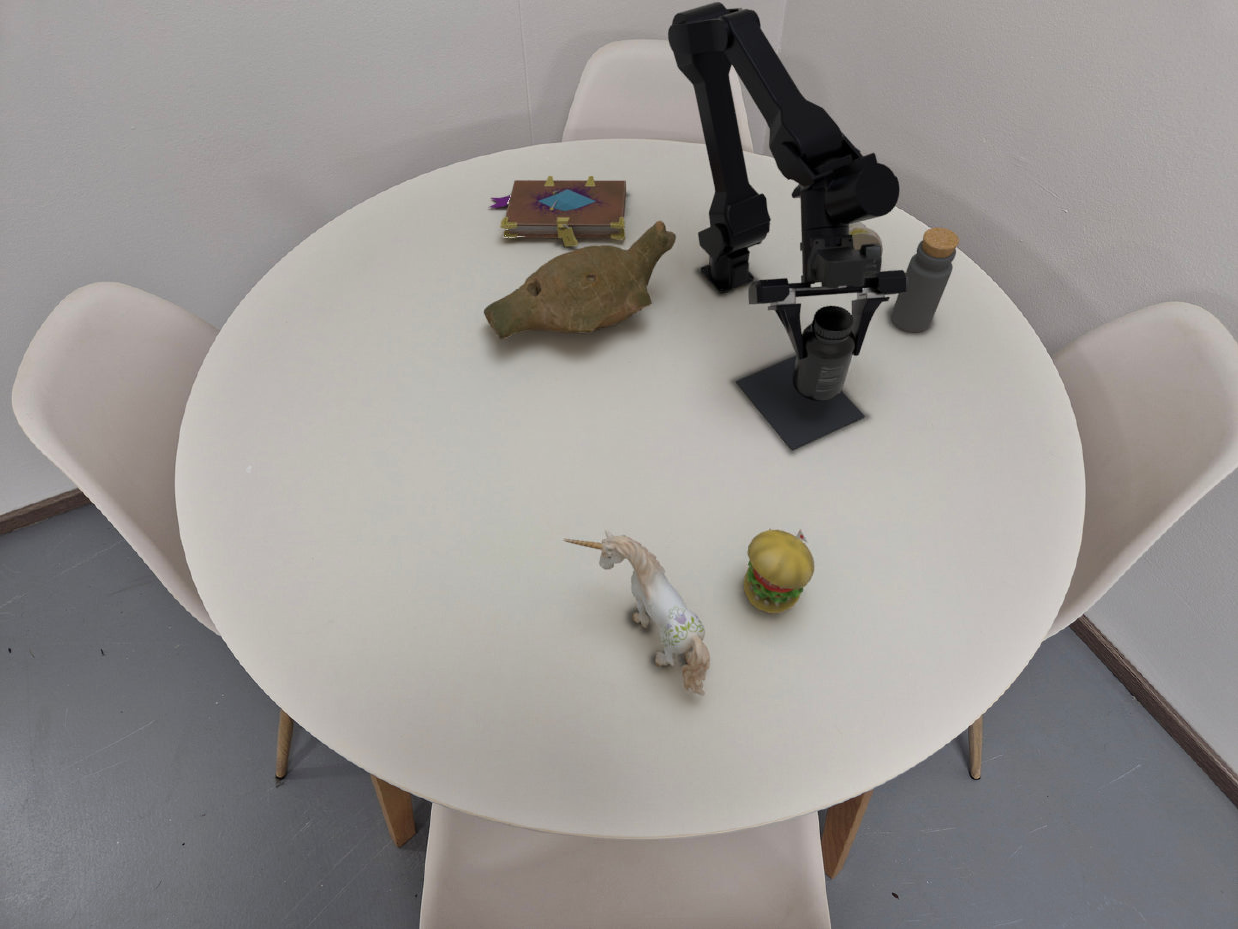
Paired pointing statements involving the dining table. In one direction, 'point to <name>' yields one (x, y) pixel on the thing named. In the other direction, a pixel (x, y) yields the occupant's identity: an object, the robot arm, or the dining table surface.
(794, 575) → the hamburger
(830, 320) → the supplement bottle
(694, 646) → the unicorn figurine
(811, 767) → the dining table surface
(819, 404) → the mat
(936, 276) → the bottle
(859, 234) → the mug
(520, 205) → the book
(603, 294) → the sculpture
